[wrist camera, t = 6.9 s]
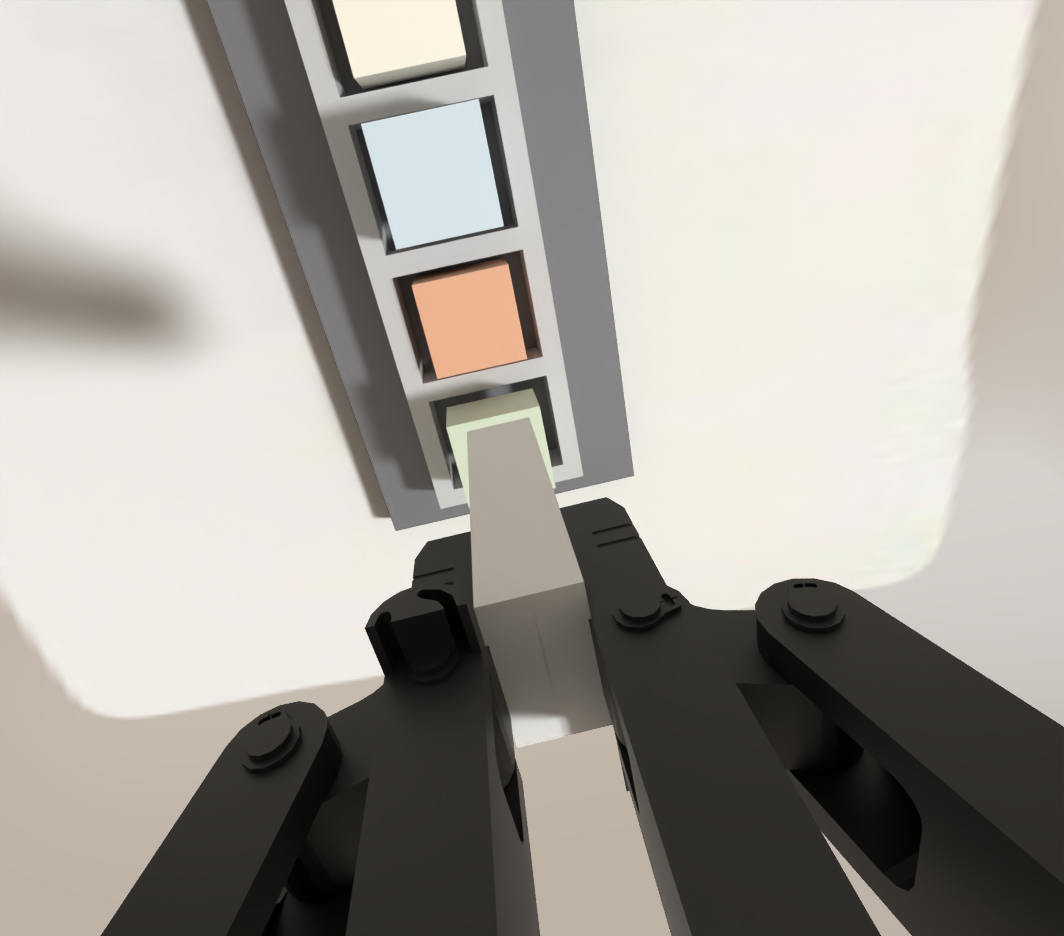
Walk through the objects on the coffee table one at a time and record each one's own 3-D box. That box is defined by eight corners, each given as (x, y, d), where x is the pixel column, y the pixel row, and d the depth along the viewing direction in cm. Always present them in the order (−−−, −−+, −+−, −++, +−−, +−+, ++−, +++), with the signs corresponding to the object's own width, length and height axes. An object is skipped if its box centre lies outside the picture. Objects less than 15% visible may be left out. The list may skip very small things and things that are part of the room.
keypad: (179, -105, 19) (134, -154, 16) (542, -177, 19) (557, -237, 16) (397, 518, 29) (392, 551, 27) (627, 465, 30) (644, 492, 27)
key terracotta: (415, 277, 23) (411, 285, 21) (503, 257, 23) (508, 264, 21) (438, 363, 25) (437, 379, 23) (521, 345, 25) (527, 358, 23)
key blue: (370, 130, 19) (360, 123, 17) (476, 107, 19) (478, 98, 17) (401, 243, 21) (396, 249, 19) (499, 222, 21) (503, 226, 19)
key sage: (446, 407, 24) (446, 427, 22) (532, 388, 24) (539, 406, 22) (467, 483, 25) (469, 508, 23) (547, 465, 25) (555, 488, 24)
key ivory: (327, -42, 19) (313, -70, 17) (437, -65, 19) (436, -95, 17) (363, 88, 20) (354, 78, 18) (464, 67, 20) (466, 55, 18)
